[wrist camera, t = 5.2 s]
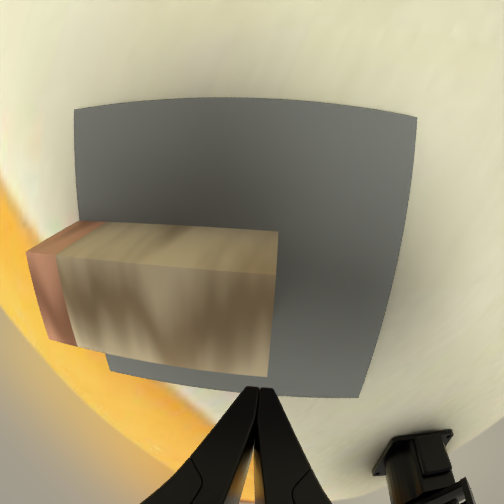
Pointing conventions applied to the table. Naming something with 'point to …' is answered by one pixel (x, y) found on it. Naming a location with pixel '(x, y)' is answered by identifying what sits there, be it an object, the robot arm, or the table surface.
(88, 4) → the table surface
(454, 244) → the table surface
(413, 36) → the table surface
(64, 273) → the pine block
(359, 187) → the rubber mat
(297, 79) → the table surface
